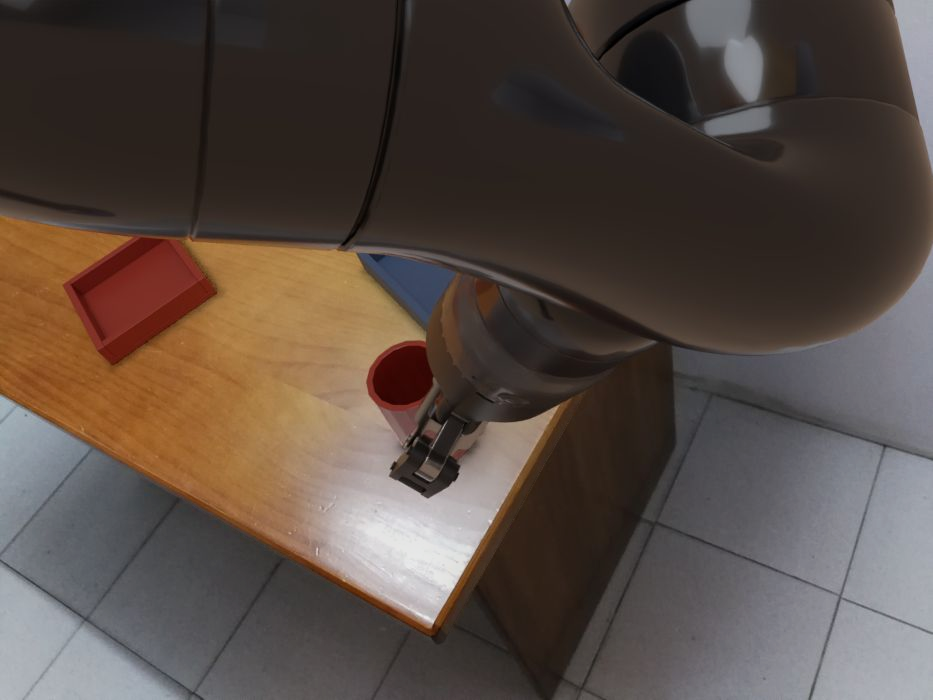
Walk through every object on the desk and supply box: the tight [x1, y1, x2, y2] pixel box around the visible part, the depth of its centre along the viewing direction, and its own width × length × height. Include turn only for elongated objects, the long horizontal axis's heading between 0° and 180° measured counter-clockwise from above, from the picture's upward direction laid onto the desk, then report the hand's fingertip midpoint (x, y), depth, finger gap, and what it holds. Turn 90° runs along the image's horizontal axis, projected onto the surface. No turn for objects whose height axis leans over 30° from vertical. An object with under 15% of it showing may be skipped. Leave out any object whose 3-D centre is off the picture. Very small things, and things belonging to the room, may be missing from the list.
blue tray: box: [355, 253, 455, 333], centre depth 75 cm, size 16×14×3 cm
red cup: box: [365, 339, 469, 460], centre depth 62 cm, size 6×6×9 cm
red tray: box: [62, 237, 218, 366], centre depth 84 cm, size 13×13×3 cm
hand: (451, 392), depth 49 cm, fingers open, 8 cm apart
